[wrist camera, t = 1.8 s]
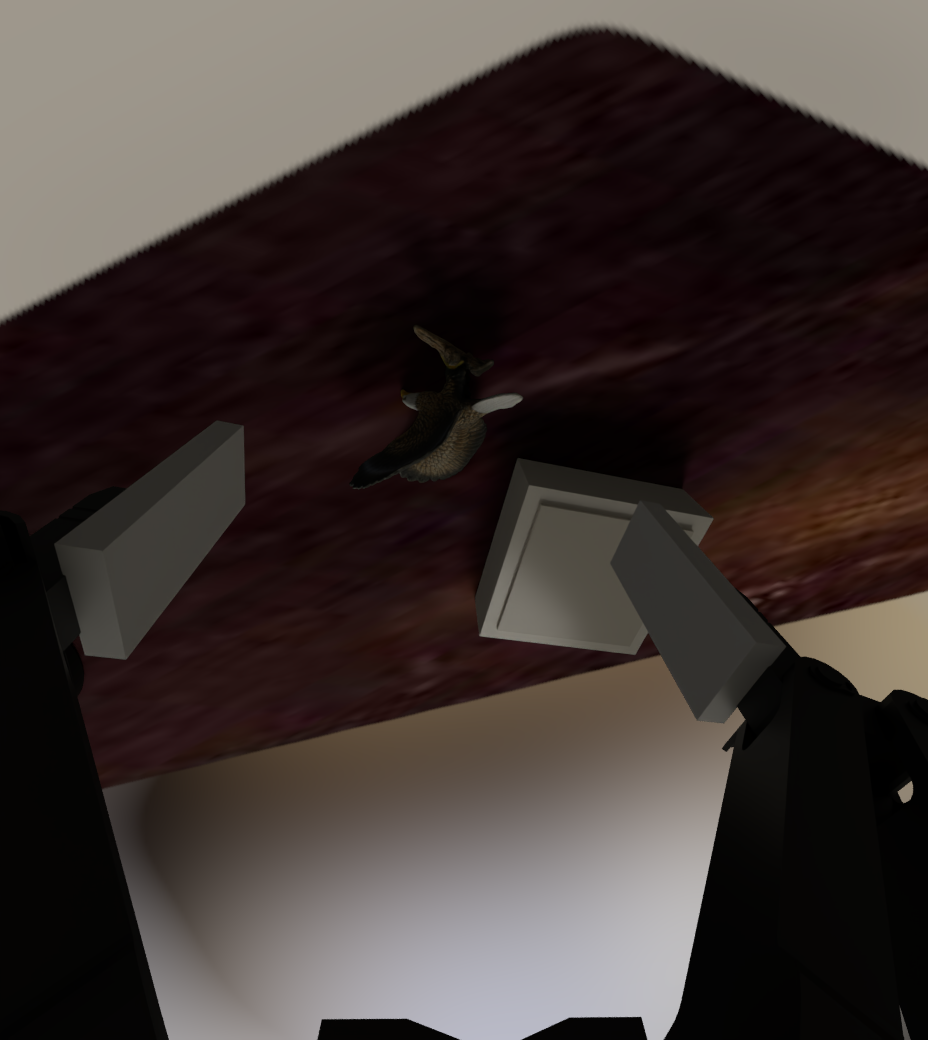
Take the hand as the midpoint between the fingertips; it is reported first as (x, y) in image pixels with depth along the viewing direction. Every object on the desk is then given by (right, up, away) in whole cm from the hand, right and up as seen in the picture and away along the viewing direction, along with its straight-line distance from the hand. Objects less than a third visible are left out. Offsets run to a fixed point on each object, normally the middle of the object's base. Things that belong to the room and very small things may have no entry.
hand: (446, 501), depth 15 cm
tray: (+9, -3, +18) cm, 20 cm away
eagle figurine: (-1, +6, +13) cm, 14 cm away
